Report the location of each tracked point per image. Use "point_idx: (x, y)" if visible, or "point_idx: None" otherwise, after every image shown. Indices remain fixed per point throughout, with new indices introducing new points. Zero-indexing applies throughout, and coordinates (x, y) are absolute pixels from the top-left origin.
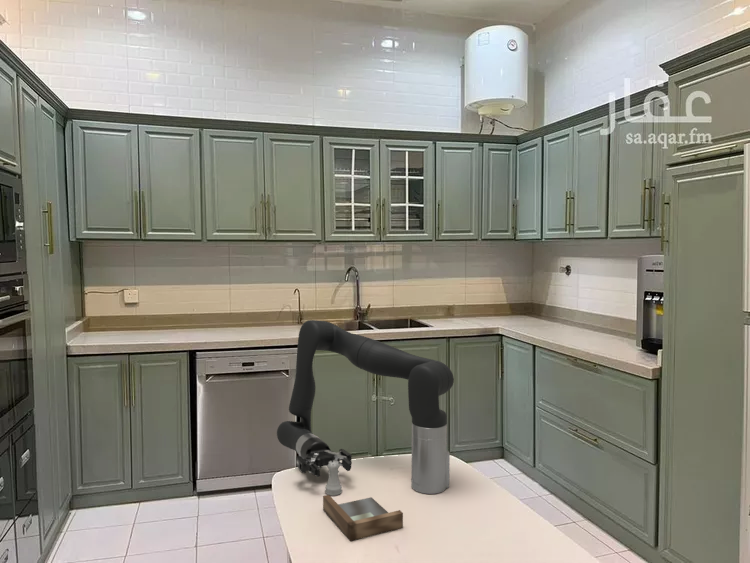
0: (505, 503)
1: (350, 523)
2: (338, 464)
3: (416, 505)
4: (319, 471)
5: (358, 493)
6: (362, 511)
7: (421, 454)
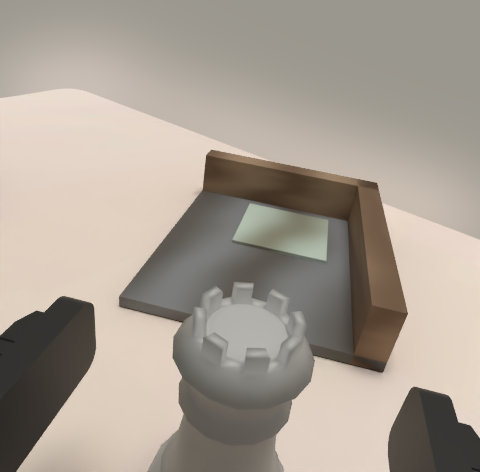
0: None
1: (372, 185)
2: (207, 305)
3: (53, 208)
4: (410, 398)
5: (98, 386)
6: (246, 259)
7: None
